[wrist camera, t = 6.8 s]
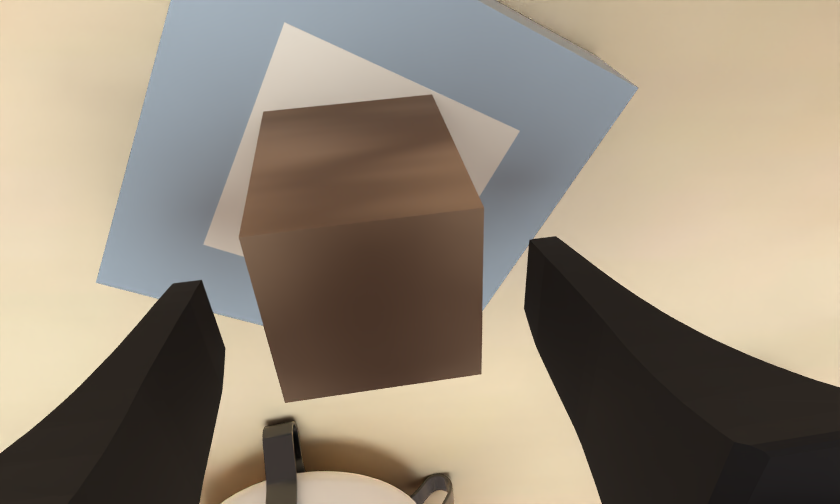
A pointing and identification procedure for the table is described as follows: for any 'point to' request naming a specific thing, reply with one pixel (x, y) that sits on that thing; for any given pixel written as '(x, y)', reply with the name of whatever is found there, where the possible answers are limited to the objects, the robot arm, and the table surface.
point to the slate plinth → (335, 84)
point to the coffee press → (322, 479)
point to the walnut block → (364, 247)
